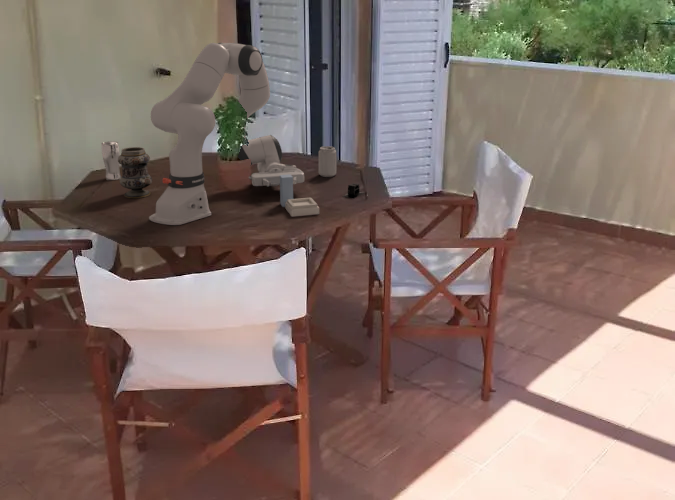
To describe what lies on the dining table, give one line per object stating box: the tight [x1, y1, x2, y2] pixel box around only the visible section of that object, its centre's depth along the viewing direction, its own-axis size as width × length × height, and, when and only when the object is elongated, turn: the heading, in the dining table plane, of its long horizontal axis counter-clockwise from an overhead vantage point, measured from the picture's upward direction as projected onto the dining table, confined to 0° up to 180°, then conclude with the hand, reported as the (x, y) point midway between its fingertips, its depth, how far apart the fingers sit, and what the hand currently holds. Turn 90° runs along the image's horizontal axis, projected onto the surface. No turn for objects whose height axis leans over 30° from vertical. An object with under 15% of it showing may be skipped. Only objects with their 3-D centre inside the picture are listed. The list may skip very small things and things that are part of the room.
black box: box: [342, 183, 365, 199], centre depth 286 cm, size 12×7×5 cm, turn 150°
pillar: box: [279, 174, 294, 208], centre depth 272 cm, size 4×4×11 cm
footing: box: [284, 197, 320, 217], centre depth 266 cm, size 10×10×4 cm
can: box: [318, 145, 337, 178], centre depth 312 cm, size 8×8×12 cm
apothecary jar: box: [118, 146, 153, 199], centre depth 283 cm, size 12×12×18 cm
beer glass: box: [101, 140, 122, 181], centre depth 307 cm, size 7×7×15 cm
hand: (281, 183), depth 278 cm, fingers open, 8 cm apart
